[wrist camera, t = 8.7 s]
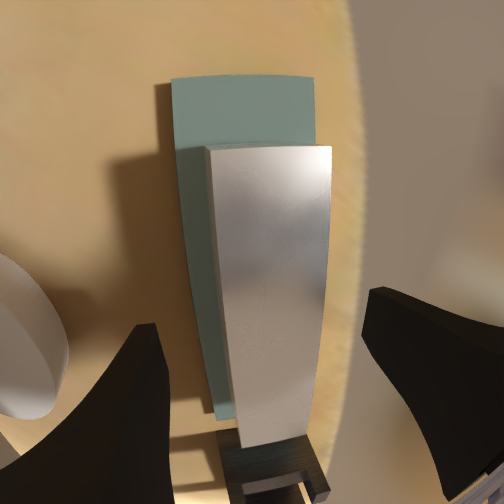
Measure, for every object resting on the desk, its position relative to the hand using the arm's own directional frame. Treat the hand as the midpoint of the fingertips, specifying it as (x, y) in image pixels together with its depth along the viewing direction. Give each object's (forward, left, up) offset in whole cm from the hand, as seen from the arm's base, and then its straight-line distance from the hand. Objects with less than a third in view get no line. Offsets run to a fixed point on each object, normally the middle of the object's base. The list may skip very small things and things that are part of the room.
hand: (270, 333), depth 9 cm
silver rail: (0, 0, -3) cm, 3 cm away
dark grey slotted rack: (-15, 0, -3) cm, 15 cm away
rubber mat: (0, 0, -3) cm, 3 cm away
